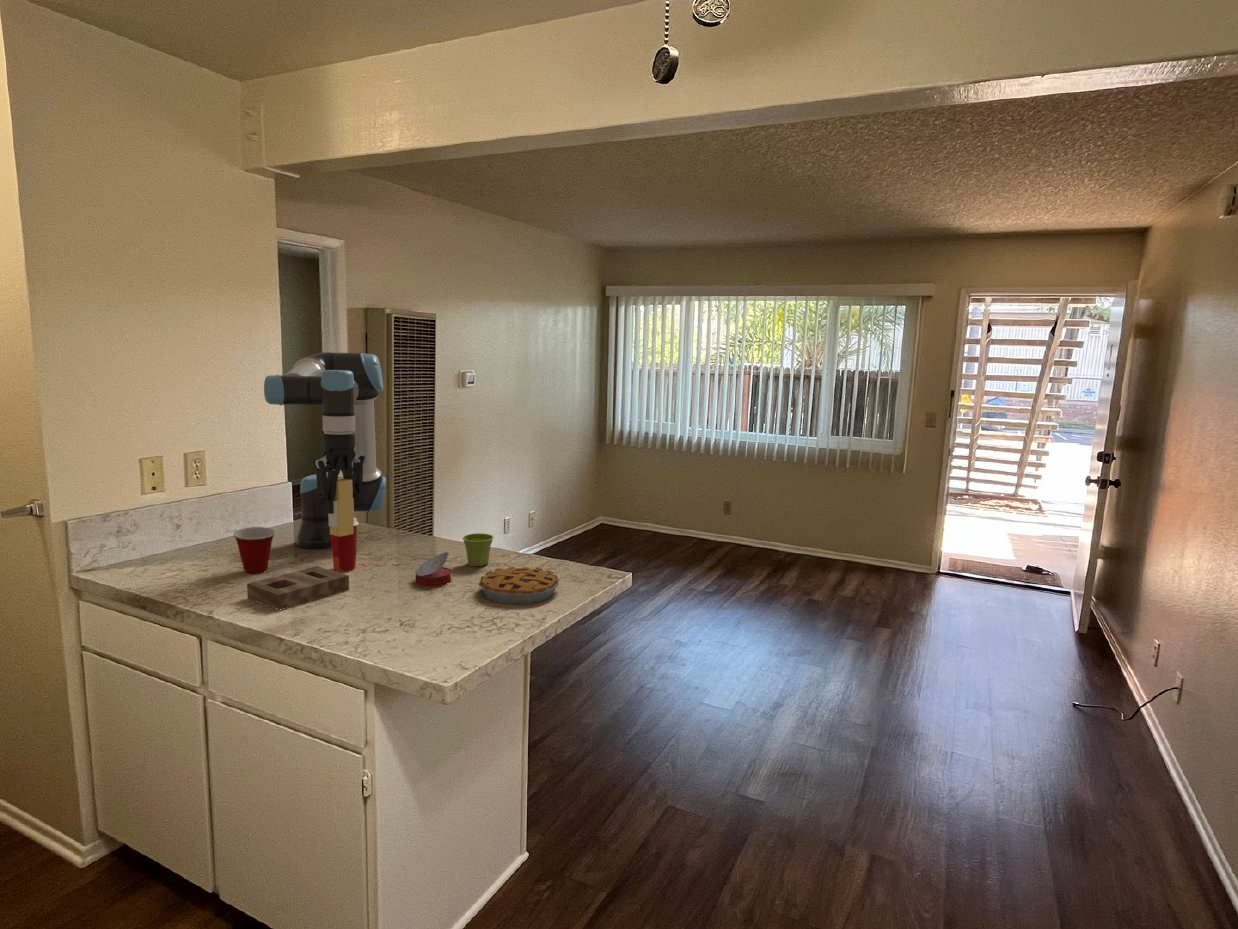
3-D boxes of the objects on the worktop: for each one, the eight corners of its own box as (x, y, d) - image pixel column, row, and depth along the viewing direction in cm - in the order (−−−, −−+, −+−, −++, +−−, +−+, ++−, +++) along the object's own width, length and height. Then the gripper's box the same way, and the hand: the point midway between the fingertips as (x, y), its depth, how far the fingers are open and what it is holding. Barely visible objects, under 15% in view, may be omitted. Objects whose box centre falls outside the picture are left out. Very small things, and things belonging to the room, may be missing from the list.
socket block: (317, 579, 199) (316, 566, 198) (349, 589, 191) (348, 575, 191) (247, 598, 182) (247, 583, 182) (279, 610, 175) (278, 594, 174)
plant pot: (490, 569, 214) (490, 541, 213) (459, 568, 214) (459, 540, 213) (496, 560, 223) (496, 533, 222) (466, 559, 223) (466, 532, 222)
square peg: (343, 531, 183) (342, 477, 181) (353, 533, 181) (352, 479, 179) (330, 534, 180) (328, 479, 177) (340, 536, 177) (338, 481, 175)
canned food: (443, 602, 198) (439, 576, 192) (410, 594, 200) (405, 569, 194) (460, 573, 207) (456, 549, 201) (428, 567, 209) (424, 542, 203)
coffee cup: (364, 565, 213) (363, 517, 211) (351, 573, 205) (350, 523, 203) (337, 564, 214) (336, 515, 212) (323, 572, 206) (322, 521, 204)
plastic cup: (246, 579, 197) (244, 537, 195) (228, 571, 203) (226, 531, 202) (284, 571, 206) (282, 531, 204) (265, 563, 212) (264, 524, 210)
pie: (467, 602, 185) (467, 584, 184) (493, 578, 206) (493, 561, 206) (548, 609, 182) (549, 590, 182) (566, 583, 204) (566, 566, 203)
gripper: (358, 428, 185) (360, 516, 189) (298, 433, 171) (301, 527, 175) (377, 431, 181) (378, 520, 185) (317, 436, 167) (320, 532, 171)
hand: (341, 523), depth 180 cm, fingers closed on square peg, 4 cm apart
